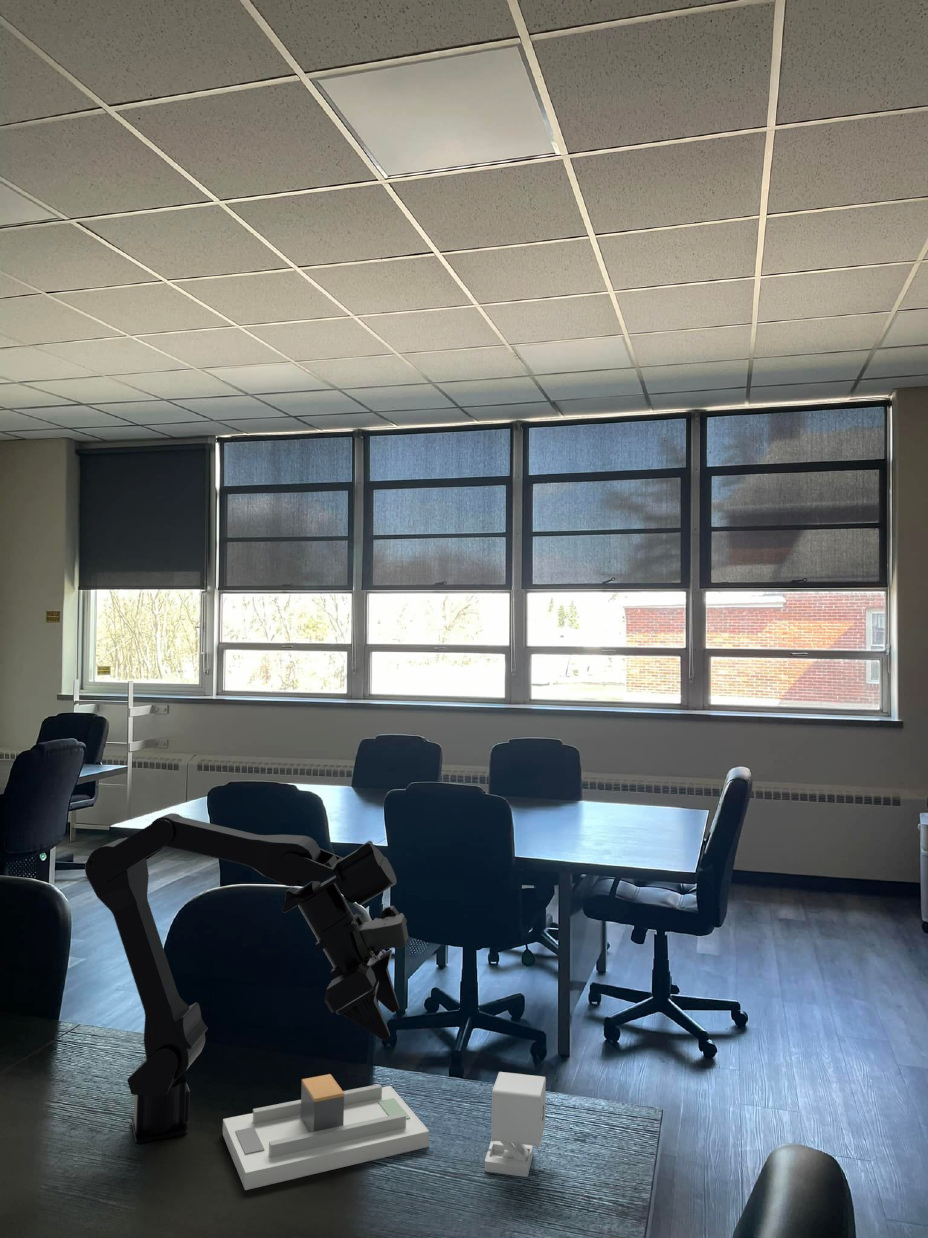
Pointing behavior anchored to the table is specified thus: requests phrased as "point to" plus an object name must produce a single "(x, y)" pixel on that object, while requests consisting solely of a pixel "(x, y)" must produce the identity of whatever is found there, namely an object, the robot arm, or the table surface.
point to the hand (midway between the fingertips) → (391, 1024)
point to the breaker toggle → (321, 1103)
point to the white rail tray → (321, 1137)
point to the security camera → (515, 1122)
